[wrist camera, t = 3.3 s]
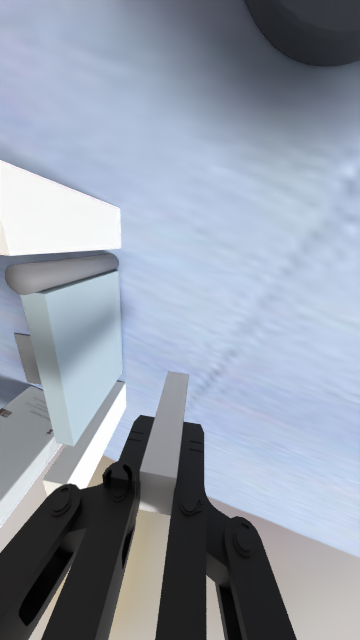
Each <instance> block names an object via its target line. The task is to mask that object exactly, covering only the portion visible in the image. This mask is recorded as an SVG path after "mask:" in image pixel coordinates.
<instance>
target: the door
mask: <svg viewBox="0 0 360 640" xmlns="http://www.w3.org/2000/svg"><path fill="white" fill-rule="evenodd" d="M118 265H119V261H118V259H117V257H116V256H115V255H113V254H105V255H96V256H87V257H78V258H70V259H61V260H52V261H43V262H34V263H25V264H16V265H10V266H9V267H7V269H6V271H5V279H6V282H7V284H8V285H9V287H10V288H11V289H12V290H13V291H14V292H16V293H17V294H20V296H21V301H22V305H23V309H24V313H25V317H26V321H27V325H28V329H29V334H30V338H31V342H32V346H33V350H34V354H35V358H36V362H37V367H38V371H39V375H40V379H41V383H42V387H43V391H44V395H45V400H46V404H47V408H48V412H49V416H50V420H51V424H52V428H53V433H54V437H55V441H56V443H59V444H64V445H69V446H75V444H76V443H77V441H78V440H79V438H80V436H81V435H82V433H83V432H84V430H85V429H86V427H87V426H88V424H89V423H90V421H91V420H92V418H93V417H94V415H95V413H96V412H97V410H98V409H99V407H100V406H101V404H102V403H103V401H104V400H105V398H106V397H107V395H108V394H109V392H110V391H111V389H112V387H113V386H114V384H115V383H116V381H117V380H118V378H119V377H120V375H121V374H122V372H123V366H122V339H121V312H120V285H119V271H117V270H115V269H116V268H117V267H118Z"/></svg>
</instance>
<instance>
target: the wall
mask: <svg viewBox="0 0 360 640" xmlns="http://www.w3.org/2000/svg"><path fill="white" fill-rule="evenodd" d="M107 249H121V223H120V208H118V207H116V206H113V205H111V204H108V203H106V202H103V201H101V200H98V199H96V198H93V197H91V196H88V195H86V194H83V193H81V192H78V191H76V190H73V189H71V188H68V187H66V186H63V185H61V184H59V183H56V182H54V181H51V180H49V179H46V178H44V177H41V176H39V175H36V174H34V173H31V172H29V171H26V170H24V169H21V168H19V167H16V166H14V165H11V164H9V163H6V162H4V161H1V160H0V255H7V256H15V255H30V254H46V253H61V252H76V251H92V250H107ZM125 408H126V384H125V382H119V381H116V383H115V384H114V386H113V387H112V389H111V391H110V392H109V394H108V395H107V397H106V398H105V400H104V401H103V403H102V404H101V406H100V407H99V409H98V410H97V412H96V413H95V415H94V417H93V418H92V420H91V421H90V423H89V424H88V426H87V427H86V429H85V430H84V432H83V433H82V435H81V436H80V438H79V440H78V441H77V443H76V444H75V446H69V445H66V447H65V448H64V449H63V451H62V453H61V454H60V455H59V457H58V458H57V460H56V461H55V462H54V464H53V465H52V467H51V468H50V470H49V471H48V472H47V474H46V475H45V477H44V478H43V480H42V481H43V484H44V487H45V490H46V493H47V496H49V495H50V494H51V493H52V492H53V491H54V490H55V489H56V488H58V487H60V486H62V485H64V484H69V483H71V484H75V485H77V487H78V488H79V489H83V488H86V487H87V485H88V483H89V481H90V479H91V477H92V475H93V473H94V471H95V469H96V467H97V465H98V463H99V461H100V459H101V457H102V455H103V453H104V451H105V449H106V447H107V445H108V443H109V441H110V439H111V437H112V435H113V433H114V430H115V428H116V426H117V424H118V422H119V420H120V418H121V416H122V414H123V412H124V410H125Z"/></svg>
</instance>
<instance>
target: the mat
mask: <svg viewBox="0 0 360 640" xmlns="http://www.w3.org/2000/svg"><path fill="white" fill-rule="evenodd" d="M14 335H15V339H16V343H17V346H18V350H19V353H20V357H21V361H22V364H23V368H24V371H25V375H26V379H27V382H29V383H35V384H41V385H42V383H41V379H40V375H39V371H38V367H37V362H36V358H35V354H34V350H33V346H32V342H31V338H30V335H24V334H17V333H15V334H14Z"/></svg>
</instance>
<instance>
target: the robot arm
mask: <svg viewBox="0 0 360 640" xmlns="http://www.w3.org/2000/svg"><path fill="white" fill-rule="evenodd" d="M246 3H247V5H248V8H249V10H250V12H251V14H252V16H253V18H254V20H255V22H256V23H257V25H258V27H259V28H260V30H261V31H262V32H263V34H264V35H265V36H266V38H267V39H268V40H269V41H270V42H271V43H272V44H273V45H274V46H275V47H276V48H278V49H279V50H280V51H282V52H283V53H284V54H286V55H288V56H289V57H291V58H293V59H295V60H298V61H300V62H304V63H307V64H312V65H320V66H334V65H342V64H347V63H351V62H355V61H358V60H360V0H246ZM188 378H189V374H183V373H177V372H170V371H168V374H167V378H166V381H165V385H164V388H163V392H162V395H161V399H160V402H159V405H158V409H157V412H156V416H155V417H149V416H143V415H140V416H139V417H138V418H137V419H136V420H135V421H134V423H133V426H132V428H131V431H130V433H129V436H128V439H127V441H126V443H125V446H124V448H123V451H122V453H121V456H120V458H119V461H117V462H115V463H113V464H111V465H110V466H109V467H108V468H107V469H106V470H105V472H104V474H103V475H102V476H103V483H102V484H100V485H97V486H93V487H89V488H83V489H79V488H78V487H77V485H75V484H71V483H69V484H64V485H62V486H60V487H58V488H56V489H55V490H54V491H53V492H52V493H51V494H50V495H49V496H48V497H47V498H46V499H45V500H44V502H43V503H42V504H41V505H40V507H39V508H38V509H37V510H36V511H35V512H34V514H33V515H32V516H31V517H30V518H29V519H28V521H27V522H26V523H25V524H24V525H23V527H22V528H21V529H20V530H19V531H18V533H17V534H16V535H15V536H14V537H13V539H12V540H11V541H10V542H9V543H8V544H7V546H6V547H5V548H4V549H3V550H2V552H1V553H0V640H28V639H29V638H30V636H31V634H32V632H33V631H34V629H35V627H36V626H37V624H38V622H39V620H40V618H41V617H42V615H43V614H44V612H45V610H46V608H47V607H48V605H49V603H50V602H51V600H52V598H53V596H54V595H55V593H56V591H57V589H58V588H59V586H60V584H61V583H62V581H63V579H64V577H65V576H66V574H67V572H68V571H69V569H70V571H69V573H68V576H67V578H66V580H65V583H64V585H63V588H62V590H61V593H60V595H59V597H58V600H57V602H56V605H55V607H54V610H53V612H52V615H51V617H50V619H49V622H48V624H47V627H46V629H45V631H44V634H43V637H42V639H41V640H108V638H109V634H110V629H111V626H112V622H113V617H114V613H115V609H116V605H117V601H118V597H119V592H120V588H121V584H122V580H123V576H124V572H125V568H126V564H127V560H128V555H129V551H130V547H131V543H132V539H133V535H134V531H135V525H136V516H137V512H138V508H139V509H141V510H146V511H151V512H156V513H161V514H166V515H171V519H170V527H169V535H168V542H167V551H166V558H165V566H164V574H163V582H162V590H161V598H160V606H159V614H158V622H157V630H156V638H155V640H206V575H207V576H208V577H210V578H211V579H212V580H213V581H214V582H215V585H216V591H217V596H218V602H219V608H220V614H221V620H222V625H223V631H224V637H225V640H297V639H296V636H295V634H294V631H293V628H292V625H291V622H290V620H289V617H288V614H287V611H286V608H285V605H284V603H283V600H282V597H281V594H280V591H279V588H278V586H277V583H276V580H275V577H274V574H273V572H272V569H271V566H270V563H269V560H268V557H267V555H266V552H265V549H264V546H263V543H262V540H261V538H260V536H259V534H258V532H257V530H256V528H255V527H254V526H253V525H252V524H251V523H250V522H249V521H248V520H246V519H245V518H243V517H238V516H236V517H233V518H229V517H228V516H226V515H225V514H223V513H221V512H220V511H218V510H217V509H216V508H215V507H214V506H213V505H212V504H211V503H210V502H209V500H208V498H207V496H206V493H205V488H204V432H203V429H202V427H201V424H195V423H189V422H183V421H184V412H185V404H186V395H187V387H188ZM71 565H72V566H71ZM70 567H71V568H70Z"/></svg>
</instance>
